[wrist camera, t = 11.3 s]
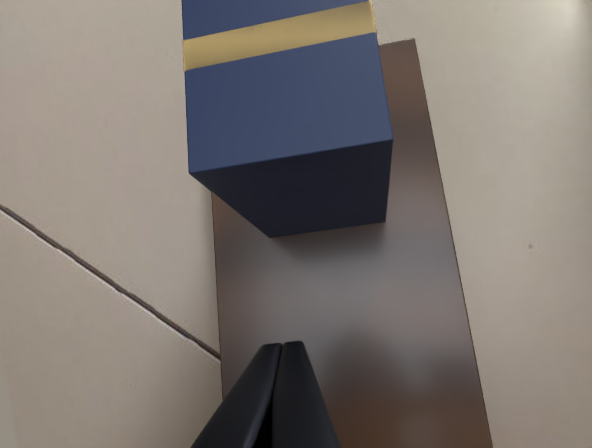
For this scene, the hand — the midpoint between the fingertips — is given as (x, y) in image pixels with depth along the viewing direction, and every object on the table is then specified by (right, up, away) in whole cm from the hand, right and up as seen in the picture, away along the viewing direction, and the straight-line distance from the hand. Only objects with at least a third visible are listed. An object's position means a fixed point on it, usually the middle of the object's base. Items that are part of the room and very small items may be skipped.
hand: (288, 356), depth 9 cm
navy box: (+1, +3, +8) cm, 9 cm away
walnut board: (+2, +1, +14) cm, 14 cm away
